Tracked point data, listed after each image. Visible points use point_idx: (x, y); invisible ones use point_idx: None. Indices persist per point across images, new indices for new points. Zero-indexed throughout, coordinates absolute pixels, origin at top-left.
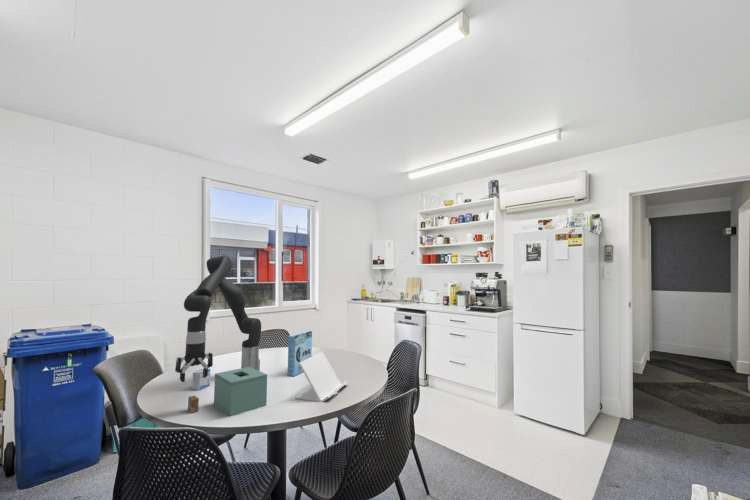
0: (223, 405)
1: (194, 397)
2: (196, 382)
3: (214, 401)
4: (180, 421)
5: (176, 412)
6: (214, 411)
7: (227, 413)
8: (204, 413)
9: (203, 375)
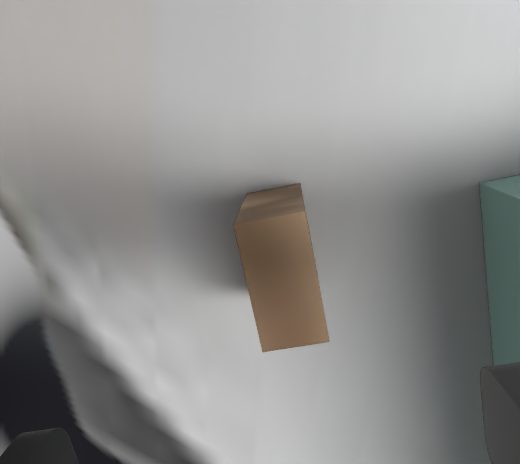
0: None
1: (292, 288)
2: None
3: (493, 202)
4: (182, 402)
5: (156, 202)
6: (433, 356)
7: None
8: (355, 353)
9: (506, 439)
